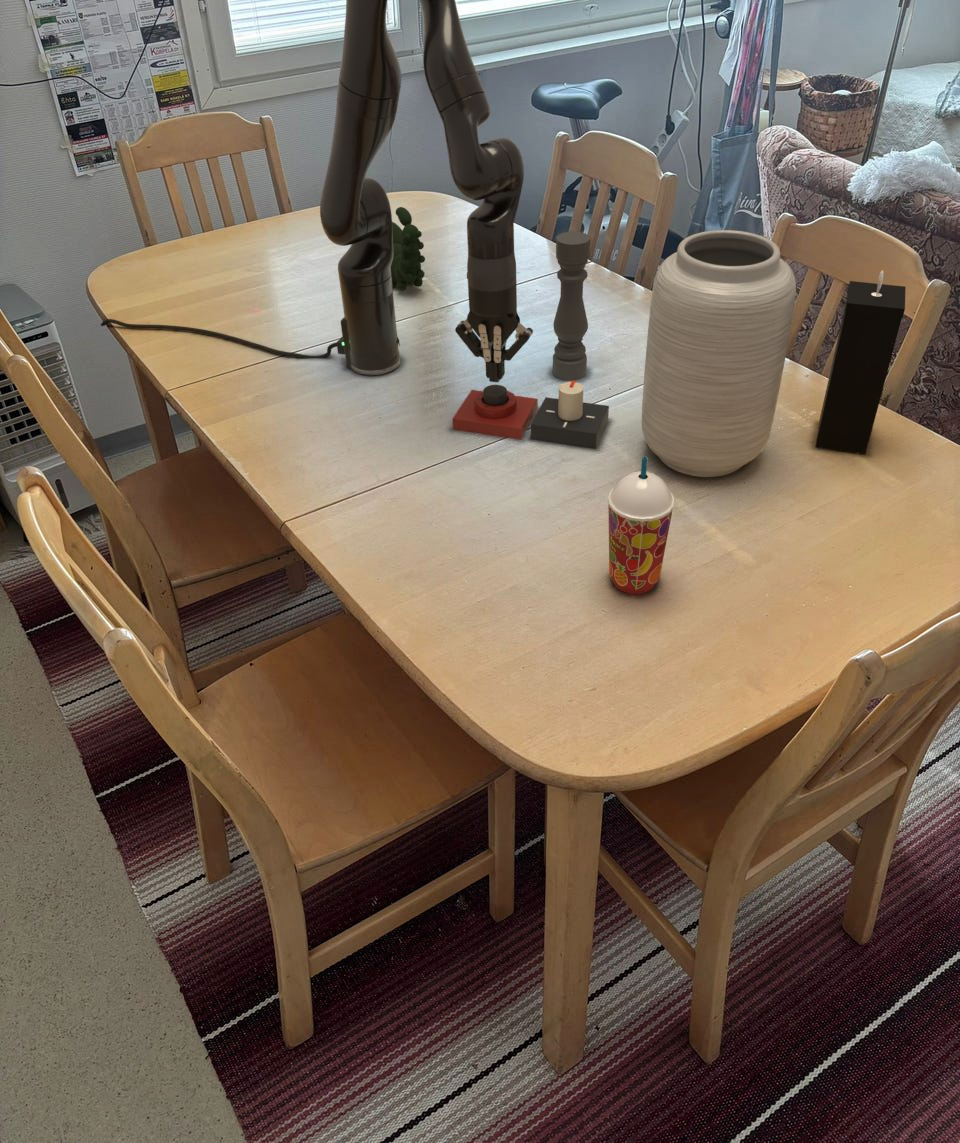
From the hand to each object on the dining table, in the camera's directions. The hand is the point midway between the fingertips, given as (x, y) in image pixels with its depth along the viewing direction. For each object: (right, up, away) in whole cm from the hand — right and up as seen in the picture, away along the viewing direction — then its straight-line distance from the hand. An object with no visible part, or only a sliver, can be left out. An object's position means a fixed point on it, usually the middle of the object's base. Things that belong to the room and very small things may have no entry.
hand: (495, 379), depth 160 cm
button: (0, -3, +3) cm, 4 cm away
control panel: (+12, -8, +2) cm, 15 cm away
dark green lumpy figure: (-21, +32, +51) cm, 64 cm away
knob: (+12, -6, 0) cm, 14 cm away
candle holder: (+14, +4, +17) cm, 22 cm away
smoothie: (+18, -33, -28) cm, 47 cm away
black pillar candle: (+56, -10, -3) cm, 57 cm away
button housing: (0, -6, +5) cm, 8 cm away
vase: (+33, -13, -5) cm, 36 cm away
